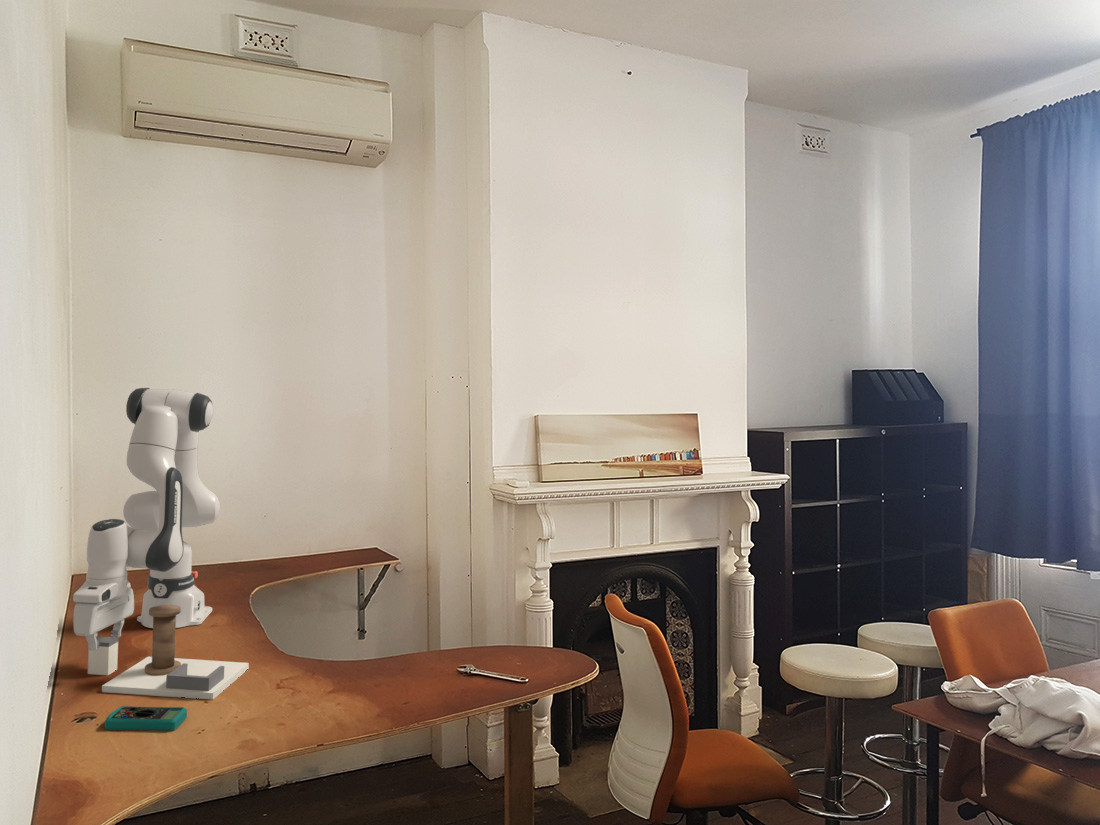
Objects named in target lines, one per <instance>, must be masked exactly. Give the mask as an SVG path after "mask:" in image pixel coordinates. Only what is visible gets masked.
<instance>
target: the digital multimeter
mask: <svg viewBox="0 0 1100 825" xmlns="http://www.w3.org/2000/svg"><path fill="white" fill-rule="evenodd" d="M187 717H188V709H187V708H186V707H182V706H178V707H177V706H171V707H170V706H168V707H166V706H164V707H163V706H161V707H160V706H130V705H129V706H128V705H125V706H124V705H122V706H120V707H118V708H116V709H115V710H113V711H112V712H111V713H110V714H109V715H107V717H106V719H105V721H104V730H106V731H109V730H110V731H111V730H112V731H113V730H114V731H116V730H117V731H119V730H120V731H162V732H163V731H165V732H172V731H173V732H174V731H176V729H178V728H179V727H180V726H181V725H182V724H183V723H184V722H185V721H186V719H187Z"/></svg>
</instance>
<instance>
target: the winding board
mask: <svg viewBox="0 0 1100 825" xmlns="http://www.w3.org/2000/svg"><path fill="white" fill-rule="evenodd" d="M175 660H176V661H179V662H180V663H181V666H179V667H178V668H176V669H175V670H173V671H172V672H171V673H169V674H168V675H159V676H156V675H149V674H146V673H145V666H146V665H147V664H149V663H151V662H152V656H146V657H144V658H143V659H142V660H140V661H139V662H138V663H136V664H133V665H132V666H131V667H129V668H127V669H126V670H125V671H122V672H121V673H120V674H118V675H116V676H115V677H113V678H112V679H110V680H109V681H107V682H106V683H104V684H102V685H101V692H102V693H109V694H124V695H136V696H137V695H139V696H157V697H168V698H169V697H171V698H181V697H185V698H184V699H196V698H197V699H198V698H199V699H198V700H200V699H201V700H212V701H213V700H214V699H216V698H217V697H218V696H219V695H221V693H222V692H224V691H225V690H226V689H227V688H228V687H229V686H231V685H232V684H233V683H234V682H236V681H237V680H238V679H239V678H240V677H241V676H242V675H243V674H245V673H246V672H247V671H248V670H249V668H250V665H249V662H240V661H239V662H237V661H222V660H210V659H207V660H206V659H195V658H193V659H192V658H178V657H177V658H176V657H175ZM247 669H248V670H247ZM246 670H247V671H246ZM245 671H246V672H245ZM238 677H239V678H238ZM230 684H231V685H230ZM223 690H224V691H223Z"/></svg>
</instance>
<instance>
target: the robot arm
mask: <svg viewBox="0 0 1100 825" xmlns="http://www.w3.org/2000/svg"><path fill="white" fill-rule="evenodd" d="M125 404H126V405H125V406H126V407H125V408H126V410H125V411H126V416H127V418H128V419H129V421H130V422H131V423H132V424H134V426H133V430H132V433H131V435H130V441H129V444H128V448H127V453H126V467H127V468H128V470H129V471H130V474H132V475H133V476H134V477H135V478H136V479H138V480H139V481H141V482H143V483H145V484H146V485H148V486H151V487H152V488H153V489H154V490H147V491H144V492H143V491H142V492H138V493H134V494H131V495H130V496H129V497H128V498H127V499H126V501H125V503H124V505H123V510H122V511H123V517H124V518H123V519H124V520H125V521H124V520H123V519H119V518H110V519H103V520H99V521H97V522H95V523H94V524H93V525H91V527H90V531H89V533H88V537H87V539H88V540H87V545H86V546H87V547H86V561H87V565H88V568H87V571H86V576H85V581H84V583H83V584H82V585H81V586H80V587H79V588H78V589H77V590H76V591H75V592H74V593H73V596H72V597H73V598H72V599H73V600H72V601H73V602H74V603H75V605H74V608H73V622H72V624H73V632H74V634H75V635H76V636H79V637H82V636H83V637H85V639H86V640H85V641H87V643H88V650H92V651H94V650H96V649H98V648H99V641H97V639H96V637H98V633H99V632H100V631H102V630H104V629H106V628H108V627H110V626H112V625H113V626H112V627H113V628H112V630H111V631H110V637H116V638H118V639H119V638H121V637H122V630H123V627H124V624H125V619H126V618H129V617H130V616H132V615H133V614H134V612H135V597H134V589H133V588H132V587H131V582H130V581H129V580H128V570H127V568H132V569H133V568H134V569H146V570H149V575H148V577H147V589H148V590H146V591H145V592H144V593H143V598H142V599H143V600H142V606H141V613H140V614H141V615H139V616H137V618H136V621H137V622H139V623H141V625H142V626H144V627H145V628H149V629H153V616H150V615H149V609H150V608H152V607H155V606H160V605H177V606H180V607H181V612H180V613H179V614H177V615H176V629H177V628H178V629H179V628H183V627H189V626H197V625H201V624H202V623H203V622H204V621H205V620H206V619H207V617H208V616H209V615H210V614H211V613H212V612H213V607H211V606H208V605H205V593H204V592H203V591H202V590H201V589H199V588H198V587H197V585H196V584H195V579H197V578H198V576H199V574H198V573H199V572H198V571H192V567H193V566H192V565H193V564H192V563H193V561H192V560H193V550H192V547H191V545H190V544H189V543H187V542H186V541H184V540H183V529H182V528H194V527H195V528H197V527H201V526H207V525H210V524H213V523H215V521H216V520H217V519H218V517H219V516H220V513H221V503H220V502H221V501H220V499H219V497H218V496H217V494H216V493H214V492H213V491H212V490H210V489H209V488H208V487H207V486H206V485H205V484H204V482H203V481H202V479H201V477H200V475H199V469H198V451H199V432H200V431H203V430H205V429H206V428H208V427H209V426H210V424H211V422H212V419H213V416H214V406H213V401H212V400H211V398H210V397H209V396H208V395H205V394H202V393H199V392H196V393H194V392H191V391H187V390H186V391H185V390H181V389H180V390H179V389H174V388H172V389H165V388H149V387H140V388H135V389H134V390H132V391H131V393H130V394H129V396H128V397H127V401H126V403H125ZM126 523H127V524H128V525H127V524H126Z"/></svg>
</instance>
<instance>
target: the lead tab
mask: <svg viewBox="0 0 1100 825" xmlns="http://www.w3.org/2000/svg"><path fill="white" fill-rule="evenodd" d="M96 639H97V641H99V648H98V649H96V650H94V651H92V650H89V649H88V650H87V651H88V656H87V657H88V658H87V675H98V676H109V675H111V674H113V673H114V672H116V671H117V670H118V659H119V658H118V657H119V655H118V654H119V638H116V637H111V636H99V635H97V636H96ZM115 670H116V671H115Z"/></svg>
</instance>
